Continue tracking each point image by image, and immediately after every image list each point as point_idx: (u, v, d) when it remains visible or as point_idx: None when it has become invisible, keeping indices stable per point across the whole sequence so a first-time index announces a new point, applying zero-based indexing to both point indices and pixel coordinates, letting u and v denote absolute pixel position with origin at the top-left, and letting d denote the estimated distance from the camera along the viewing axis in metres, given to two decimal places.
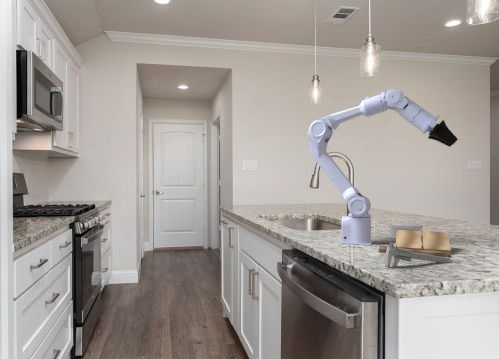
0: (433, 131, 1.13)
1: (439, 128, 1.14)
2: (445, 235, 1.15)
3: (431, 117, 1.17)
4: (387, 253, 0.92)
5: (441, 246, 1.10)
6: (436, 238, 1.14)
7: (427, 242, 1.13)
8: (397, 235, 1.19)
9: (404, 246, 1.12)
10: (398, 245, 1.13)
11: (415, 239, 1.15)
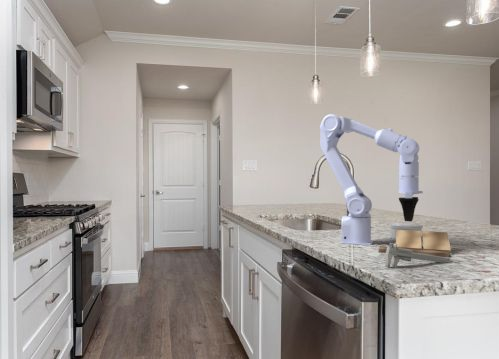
0: (403, 200, 1.16)
1: (409, 201, 1.17)
2: (445, 235, 1.15)
3: (415, 188, 1.17)
4: (387, 253, 0.92)
5: (441, 246, 1.10)
6: (436, 238, 1.14)
7: (427, 242, 1.13)
8: (397, 235, 1.19)
9: (404, 246, 1.12)
10: (398, 245, 1.13)
11: (415, 239, 1.15)
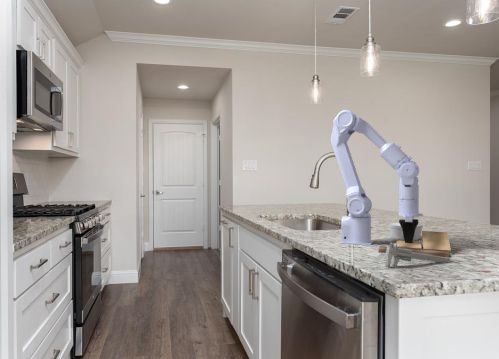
0: (403, 222, 1.17)
1: (410, 224, 1.18)
2: (445, 235, 1.15)
3: (415, 211, 1.17)
4: (387, 253, 0.92)
5: (441, 246, 1.10)
6: (436, 238, 1.14)
7: (427, 242, 1.13)
8: (397, 242, 1.20)
9: (404, 246, 1.13)
10: (398, 245, 1.14)
11: (415, 244, 1.16)
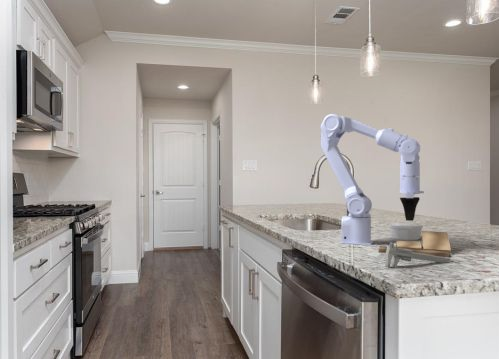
0: (404, 199, 1.17)
1: (411, 201, 1.18)
2: (445, 235, 1.15)
3: (416, 188, 1.17)
4: (387, 253, 0.92)
5: (441, 246, 1.10)
6: (436, 238, 1.14)
7: (427, 242, 1.13)
8: (397, 242, 1.20)
9: (404, 246, 1.13)
10: (398, 246, 1.14)
11: (415, 244, 1.16)
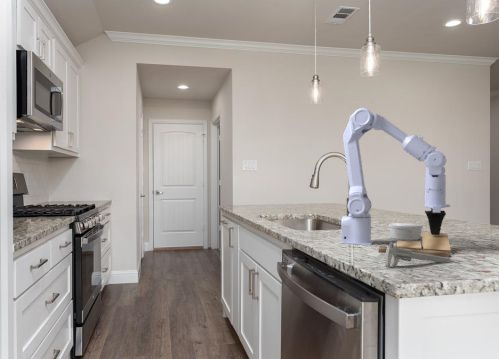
0: (430, 213, 1.14)
1: (436, 215, 1.15)
2: (445, 236, 1.15)
3: (442, 202, 1.14)
4: (387, 253, 0.92)
5: (441, 246, 1.10)
6: (436, 239, 1.15)
7: (427, 242, 1.13)
8: (397, 242, 1.20)
9: (404, 246, 1.13)
10: (398, 246, 1.14)
11: (415, 244, 1.16)
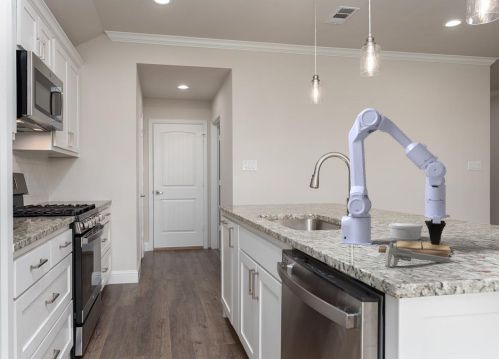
0: (430, 223, 1.14)
1: (436, 225, 1.15)
2: (445, 244, 1.16)
3: (442, 212, 1.14)
4: (387, 253, 0.92)
5: (441, 248, 1.10)
6: (436, 245, 1.15)
7: (427, 246, 1.14)
8: (397, 242, 1.20)
9: (404, 246, 1.13)
10: (398, 246, 1.14)
11: (415, 244, 1.16)
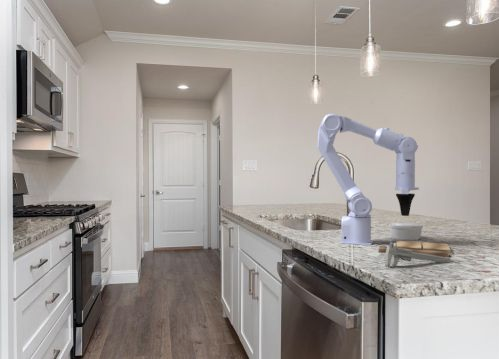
0: (400, 195, 1.23)
1: (406, 197, 1.24)
2: (445, 244, 1.16)
3: (411, 185, 1.22)
4: (387, 253, 0.92)
5: (441, 248, 1.10)
6: (436, 245, 1.15)
7: (427, 246, 1.14)
8: (397, 242, 1.20)
9: (404, 246, 1.13)
10: (398, 246, 1.14)
11: (415, 244, 1.16)
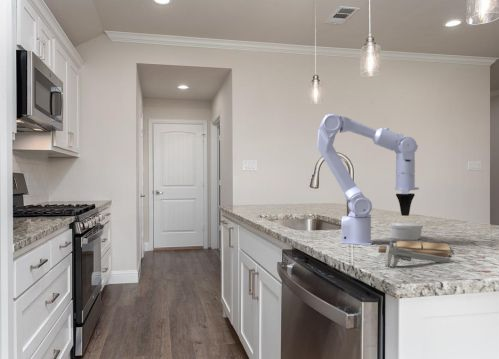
0: (400, 195, 1.23)
1: (406, 197, 1.24)
2: (445, 244, 1.16)
3: (411, 185, 1.23)
4: (387, 253, 0.93)
5: (441, 248, 1.10)
6: (436, 245, 1.15)
7: (427, 246, 1.14)
8: (397, 242, 1.20)
9: (404, 246, 1.13)
10: (398, 246, 1.14)
11: (415, 244, 1.16)
